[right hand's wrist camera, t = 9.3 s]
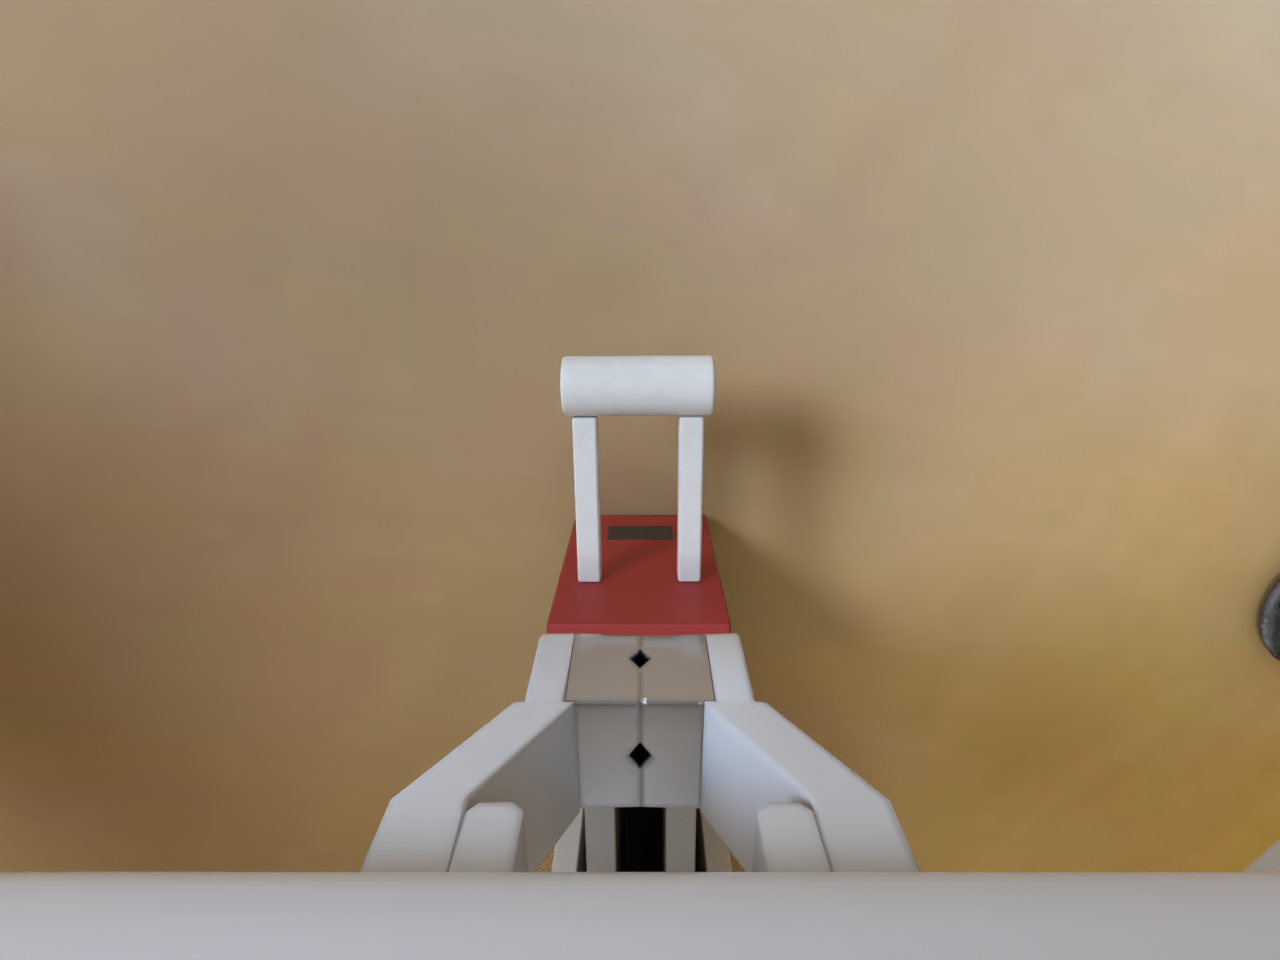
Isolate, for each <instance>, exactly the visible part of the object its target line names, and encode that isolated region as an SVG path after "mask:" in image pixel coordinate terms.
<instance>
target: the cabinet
mask: <svg viewBox="0 0 1280 960" xmlns="http://www.w3.org/2000/svg"><path fill="white" fill-rule="evenodd" d="M551 872H587V865H586V839H585V814H584V808H580V812H579V814H578V815H577V816H576V818H575V819H574V820H573V822H572V823H571V824H570V826H569V827H568V828H567V830H566V831H565V832H564V834H563V835H562V836H561V838H560V839H559V840H558V842H557V843H556V844H555V851H554V857H553V864H552V870H551ZM695 872H732V867H731V860H730V853H729V849H728V848H727V847H726V845H725V844H724V843H723V841H722V840H721V839H720V837H719V836H718V835H717V833H716V832H715V830H714V829H713V828H712V826H711V825H710V824H709V822H708V821H707V820H706V818H705V817H704V816H703V814H702V813H701V812H700V808H696V849H695Z"/></svg>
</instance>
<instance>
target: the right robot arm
mask: <svg viewBox="0 0 1280 960" xmlns="http://www.w3.org/2000/svg"><path fill="white" fill-rule="evenodd" d="M609 807H670V808H700V812H701V813H702V814H703V816H704V817H705V818H706V820H707V821H708V822H709V824H710V825H711V826H712V828H713V829H714V830H715V832H716V833H717V835H718V836H719V837H720V839H721V840H722V841H723V843H724V844H725V845H726V847H727V848H728V849H729V851H730V852H731V853H732V855H733V856H734V857H735V859H736V860H737V861H738V863H739V864H740V865H741V867H742V868H743V869H744V871H745V872H535V871H536V870H537V868H538V867H539V866H540V864H541V863H542V862H543V860H544V859H545V858H546V856H547V855H548V854H549V852H550V851H551V850H552V848H553V847H554V846H555V844H556V843H557V842H558V840H559V839H560V838H561V836H562V835H563V834H564V832H565V831H566V830H567V828H568V827H569V826H570V824H571V823H572V822H573V820H574V819H575V818H576V816H577V815H578V814H579V812H580V808H609ZM0 960H1280V872H920V870H919V868H918V866H917V863H916V861H915V858H914V856H913V854H912V851H911V849H910V847H909V844H908V842H907V839H906V837H905V835H904V832H903V830H902V828H901V825H900V823H899V821H898V818H897V816H896V813H895V811H894V809H893V806H892V804H891V802H890V800H889V799H887V798H886V797H885V796H884V795H882V794H881V793H880V792H879V791H877V790H876V789H875V788H874V787H872V786H871V785H870V784H869V783H867V782H866V781H865V780H863V779H862V778H861V777H860V776H858V775H857V774H856V773H855V772H853V771H852V770H851V769H850V768H848V767H847V766H846V765H845V764H843V763H842V762H841V761H839V760H838V759H837V758H836V757H834V756H833V755H832V754H831V753H829V752H828V751H827V750H826V749H824V748H823V747H822V746H821V745H819V744H818V743H817V742H815V741H814V740H813V739H812V738H810V737H809V736H808V735H807V734H805V733H804V732H803V731H802V730H800V729H799V728H798V727H797V726H795V725H794V724H793V723H791V722H790V721H789V720H788V719H786V718H785V717H784V716H783V715H781V714H780V713H779V712H778V711H776V710H775V709H774V708H773V707H771V706H770V705H769V704H767V703H766V702H755V698H754V693H753V689H752V685H751V681H750V677H749V672H748V668H747V664H746V660H745V656H744V652H743V647H742V643H741V639H740V636H739V635H738V634H737V633H722V634H705V635H659V636H640V635H620V634H576V635H575V634H573V633H552V634H542V636H541V637H540V638H539V642H538V647H537V651H536V655H535V659H534V664H533V668H532V672H531V676H530V681H529V685H528V689H527V693H526V697H525V702H514V703H513V704H511V705H510V706H509V707H507V708H506V709H505V710H504V711H502V712H501V713H500V714H499V715H497V716H496V717H495V718H494V719H492V720H491V721H490V722H488V723H487V724H486V725H485V726H483V727H482V728H481V729H480V730H478V731H477V732H476V733H474V734H473V735H472V736H471V737H469V738H468V739H467V740H466V741H464V742H463V743H462V744H461V745H459V746H458V747H457V748H455V749H454V750H453V751H452V752H450V753H449V754H448V755H447V756H445V757H444V758H443V759H441V760H440V761H439V762H438V763H436V764H435V765H434V766H433V767H431V768H430V769H429V770H428V771H426V772H425V773H424V774H422V775H421V776H420V777H419V778H417V779H416V780H415V781H414V782H412V783H411V784H410V785H408V786H407V787H406V788H405V789H403V790H402V791H401V792H400V793H398V794H397V795H396V796H395V797H393V798H392V799H391V800H390V802H389V805H388V807H387V809H386V812H385V814H384V816H383V819H382V821H381V823H380V826H379V828H378V830H377V833H376V835H375V837H374V840H373V842H372V844H371V847H370V849H369V851H368V854H367V856H366V858H365V861H364V863H363V865H362V868H361V870H360V872H0Z"/></svg>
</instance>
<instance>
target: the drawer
mask: <svg viewBox="0 0 1280 960" xmlns="http://www.w3.org/2000/svg"><path fill="white" fill-rule="evenodd" d="M560 393H561V405H562V410H563V413H564V415H565V416H574V417H573V419H572V433H573V459H574V486H575V513H576V518H575V522H574V525H573V529H572V533H571V537H570V540H569V544H568V548H567V552H566V555H565V559H564V563H563V566H562V570H561V574H560V578H559V581H558V585H557V589H556V593H555V596H554V600H553V604H552V607H551V611H550V615H549V619H548V622H547V634H552V633H573V634H575V635H576V634H620V635H640V636H659V635H705V634H722V633H731V623H730V619H729V615H728V610H727V606H726V602H725V598H724V593H723V589H722V585H721V581H720V576H719V572H718V568H717V564H716V559H715V555H714V551H713V547H712V542H711V538H710V534H709V530H708V525H707V521H706V517H705V516H704V515H702V499H703V453H704V418H703V416H708V415H712V413H713V409H714V401H715V366H714V360H713V357H712V356H710V355H673V356H565V357H563V359H562V362H561V371H560ZM598 416H679V421H678V515H602V516H601V513H600V475H599V436H598ZM584 814H585V839H586V865H587V872H695V849H696V808H670V807H609V808H584Z"/></svg>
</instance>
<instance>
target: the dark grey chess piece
mask: <svg viewBox="0 0 1280 960" xmlns="http://www.w3.org/2000/svg"><path fill="white" fill-rule="evenodd" d="M1260 632H1261V636H1262V639H1263V643H1264V645H1265V646H1266V648H1267V649H1268V650H1269V652H1270V653H1271V654H1272V656H1274V657H1275V658H1277V659H1278V660H1280V580H1279V582H1278V583H1277V585H1276V586H1275V587H1274V589H1273V590H1272V592H1271V593H1270V594H1269V596H1268V598H1267V600H1266V603H1265V605H1264V608H1263V610H1262V613H1261V622H1260Z"/></svg>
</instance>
